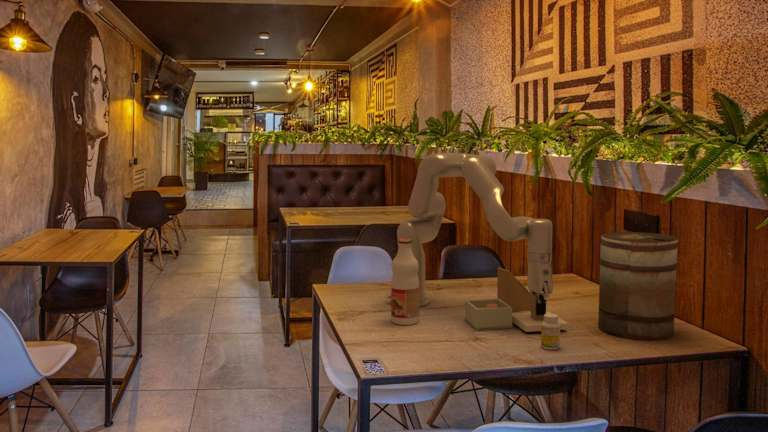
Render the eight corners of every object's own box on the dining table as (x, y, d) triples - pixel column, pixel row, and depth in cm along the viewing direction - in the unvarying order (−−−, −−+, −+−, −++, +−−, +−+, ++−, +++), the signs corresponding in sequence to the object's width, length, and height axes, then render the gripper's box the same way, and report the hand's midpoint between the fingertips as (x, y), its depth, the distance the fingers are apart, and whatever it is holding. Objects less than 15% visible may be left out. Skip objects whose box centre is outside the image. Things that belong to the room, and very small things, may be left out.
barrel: (679, 326, 208) (683, 235, 204) (667, 345, 189) (671, 244, 186) (607, 316, 220) (610, 230, 217) (589, 333, 201) (592, 238, 198)
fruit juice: (419, 325, 211) (419, 241, 208) (391, 325, 211) (390, 241, 208) (418, 317, 220) (418, 237, 217) (391, 318, 220) (390, 237, 217)
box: (476, 330, 204) (476, 309, 204) (464, 320, 216) (465, 300, 215) (511, 328, 207) (512, 307, 206) (498, 318, 218) (499, 298, 217)
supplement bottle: (554, 351, 184) (555, 318, 183) (537, 347, 187) (538, 315, 186) (562, 346, 188) (563, 314, 187) (546, 343, 191) (546, 311, 190)
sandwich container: (546, 309, 231) (547, 268, 230) (509, 313, 226) (510, 271, 224) (532, 303, 239) (533, 264, 238) (496, 307, 234) (497, 267, 233)
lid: (526, 331, 200) (526, 300, 199) (509, 319, 214) (510, 290, 213) (567, 329, 202) (568, 298, 201) (548, 317, 216) (549, 288, 215)
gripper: (562, 261, 198) (560, 319, 200) (539, 252, 214) (538, 306, 216) (539, 262, 197) (537, 320, 199) (518, 253, 213) (517, 307, 215)
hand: (538, 312), depth 208 cm, fingers closed on lid, 3 cm apart
